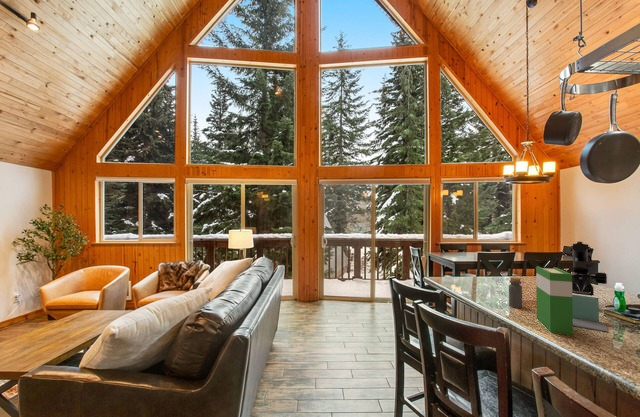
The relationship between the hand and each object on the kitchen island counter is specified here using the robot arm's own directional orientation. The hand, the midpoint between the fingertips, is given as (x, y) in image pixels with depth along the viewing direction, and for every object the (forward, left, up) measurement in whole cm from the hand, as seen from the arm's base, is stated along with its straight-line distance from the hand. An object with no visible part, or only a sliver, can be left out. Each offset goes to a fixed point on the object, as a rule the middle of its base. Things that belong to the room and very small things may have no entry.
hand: (581, 291), depth 148 cm
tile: (+8, +2, -11) cm, 14 cm away
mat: (+16, +4, -11) cm, 20 cm away
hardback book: (+30, -3, -11) cm, 32 cm away
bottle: (+11, -24, -11) cm, 29 cm away
